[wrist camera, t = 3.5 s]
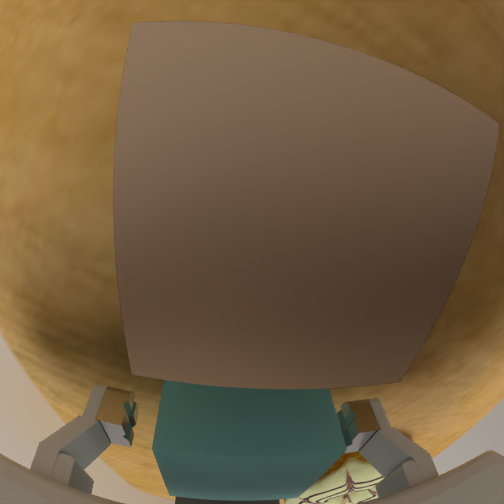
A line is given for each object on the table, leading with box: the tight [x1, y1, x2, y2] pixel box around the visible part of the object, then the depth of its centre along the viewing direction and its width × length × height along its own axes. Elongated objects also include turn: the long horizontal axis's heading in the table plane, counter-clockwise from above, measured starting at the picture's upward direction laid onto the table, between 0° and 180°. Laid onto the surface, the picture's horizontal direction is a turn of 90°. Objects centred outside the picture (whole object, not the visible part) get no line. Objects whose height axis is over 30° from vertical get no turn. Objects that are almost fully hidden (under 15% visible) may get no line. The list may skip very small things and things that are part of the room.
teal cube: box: [152, 380, 347, 501], centre depth 9 cm, size 5×5×5 cm
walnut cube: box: [113, 21, 500, 389], centre depth 6 cm, size 5×5×5 cm
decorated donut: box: [284, 451, 384, 504], centre depth 16 cm, size 10×11×4 cm
